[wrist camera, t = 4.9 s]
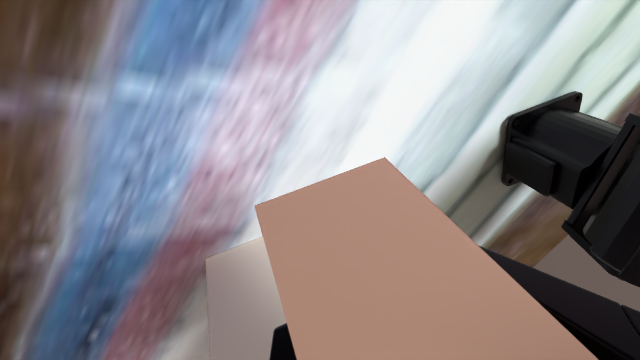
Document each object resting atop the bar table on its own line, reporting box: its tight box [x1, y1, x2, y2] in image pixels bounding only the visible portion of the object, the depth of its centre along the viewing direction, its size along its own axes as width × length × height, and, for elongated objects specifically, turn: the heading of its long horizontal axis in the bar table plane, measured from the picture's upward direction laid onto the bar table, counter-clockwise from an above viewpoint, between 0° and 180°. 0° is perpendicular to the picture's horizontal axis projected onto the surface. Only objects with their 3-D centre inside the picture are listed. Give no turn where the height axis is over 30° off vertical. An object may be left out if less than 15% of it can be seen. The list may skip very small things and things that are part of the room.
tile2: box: [206, 236, 287, 360], centre depth 20 cm, size 2×5×10 cm, turn 104°
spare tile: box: [255, 157, 598, 360], centre depth 9 cm, size 2×5×10 cm, turn 103°
